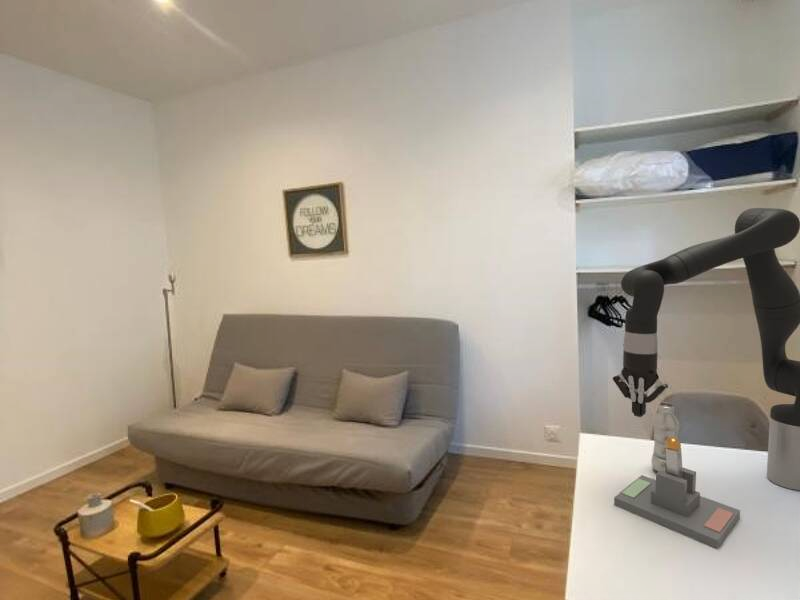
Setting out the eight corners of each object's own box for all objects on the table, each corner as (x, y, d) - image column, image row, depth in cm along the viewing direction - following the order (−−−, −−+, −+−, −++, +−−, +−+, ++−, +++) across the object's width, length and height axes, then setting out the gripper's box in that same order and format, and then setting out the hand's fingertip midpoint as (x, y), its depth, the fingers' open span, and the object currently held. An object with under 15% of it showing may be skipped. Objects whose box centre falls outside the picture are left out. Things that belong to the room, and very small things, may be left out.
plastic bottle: (669, 466, 128) (672, 400, 126) (682, 478, 121) (685, 409, 119) (646, 465, 129) (648, 400, 126) (658, 477, 122) (660, 409, 119)
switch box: (641, 481, 120) (642, 447, 119) (739, 518, 103) (741, 478, 102) (614, 504, 110) (614, 467, 109) (717, 549, 93) (719, 505, 92)
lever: (671, 484, 108) (667, 434, 108) (685, 488, 106) (682, 437, 105) (666, 489, 106) (662, 438, 106) (680, 493, 104) (677, 441, 103)
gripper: (675, 350, 106) (673, 419, 108) (620, 343, 117) (619, 405, 119) (663, 356, 102) (660, 427, 104) (606, 347, 112) (605, 412, 114)
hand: (638, 415), depth 111 cm, fingers closed
